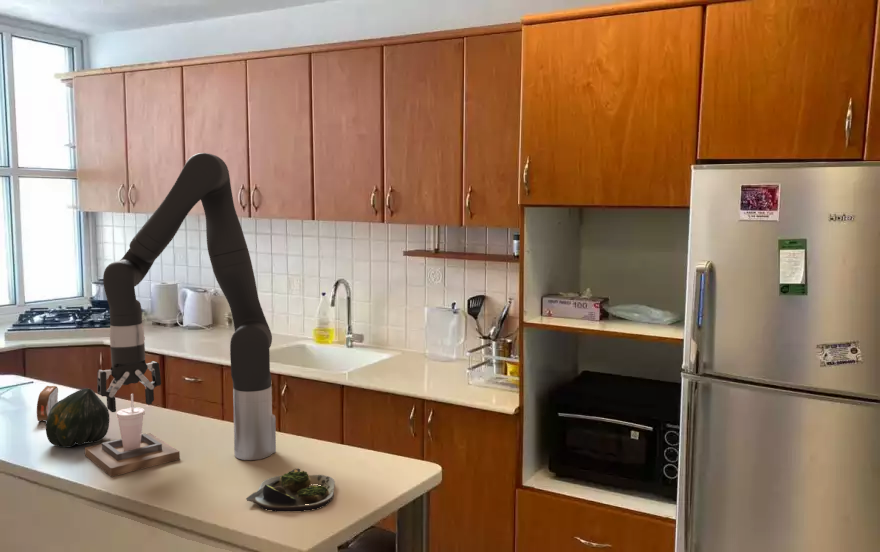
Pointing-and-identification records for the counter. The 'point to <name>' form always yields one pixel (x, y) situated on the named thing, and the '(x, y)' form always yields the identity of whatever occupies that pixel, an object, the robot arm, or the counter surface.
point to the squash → (77, 419)
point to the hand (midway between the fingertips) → (131, 407)
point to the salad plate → (294, 492)
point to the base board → (131, 455)
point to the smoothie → (131, 426)
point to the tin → (46, 402)
